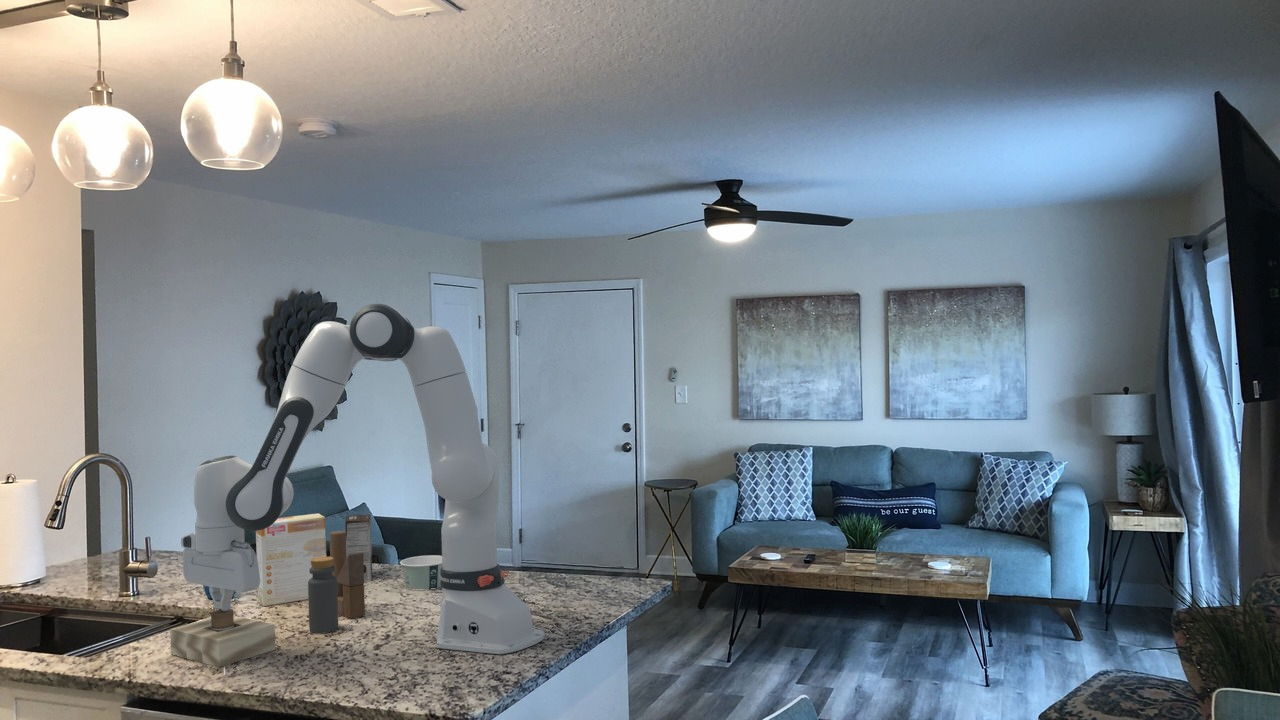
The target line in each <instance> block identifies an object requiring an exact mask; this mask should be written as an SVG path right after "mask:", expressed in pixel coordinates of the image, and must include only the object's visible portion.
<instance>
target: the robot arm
mask: <svg viewBox="0 0 1280 720" xmlns="http://www.w3.org/2000/svg"><path fill="white" fill-rule="evenodd" d="M305 338H306V339H305V340H304V342H303V343H302V345H301V347H300V349H299V350H298V352H297V354H296V356H295V358H294V360H293V361H292V362H293V363H292V365H291V367H290V369H289V370H288V374H287V377H286V378H285V379H286V380H285V382H284V386H283V389H282V392H281V397H280V400H279V403H278V406H277V410H276V413H275V416H274V419H273V423H272V425H271V427H270V429H269V432H268V433H267V435H266V437H265V440H264V441H263V444H262V446H261V448H260V450H259V452H258V453H257V457H256V458H255V461H254V462H253V464H250V463H249V462H246V461H244V460H243V459H241V458H240V457H239V456H238V455H227V456H226V455H225V456H220V457H216V458H212V459H208V460H205V461H203V462H201V464H200V465H199V466H197V468H196V470H195V471H196V472H195V477H194V489H193V491H194V493H193V499H194V500H193V502H194V503H193V504H194V507H195V511H196V519H195V522H194V523H195V524H194V531H192V532H191V533H188V534H186V535H184V536H182V537H180V544H181V547H182V548H183V551H182V572H183V577H184V579H185V581H186V583H189V584H195V585H200V586H205V587H209V588H208V589H209V591H208V592H209V594H210V596H211V599H212V600H213V609H215V610H222V611H226V610H229V609H232V607H231V606H232V605H231V601H232V598H233V595H234V594H235V592H238V593H239V592H240V593H247V592H251V591H255V590H258V587H259V584H260V575H259V566H258V560H257V553H256V552H255V550H254V549H253V548H252V546H251V543H248V542H245V539H246V538H245V531H251V532H256V531H258V530H263V529H265V528H267V527H269V526H271V525H272V524H273V523H274V522H275V521H276V520H277V519H278V518H280V517H281V516H282V515H283V513H285V512H286V511H287V510H288V509H289V508H290V507H291V505H292V503H293V501H294V499H295V498H294V497H295V490H294V489H295V488H294V485H293V483H292V481H291V479H290V478H289V477H288V476H287V475H288V474H289V471H290V468H291V466H292V464H293V463H294V461H295V459H296V458H295V457H296V456H297V454H298V453H299V452H298V451H299V449H300V448H301V445H302V443H303V441H304V440H305V439H306V438H307V436H308V435H309V434H310V432H311V431H312V430H313V429H314V428H315V427H317V425H318V424H320V423H321V422H323V420H324V419H326V417H328V416H329V414H330V413H331V412H332V410H333V409H334V408H335V407H336V405H337V403H338V401H340V398H341V396H342V395H343V392H344V391H345V387H346V385H347V383H348V381H349V378H350V376H351V374H352V373H353V370H354V369H355V367H356V366H357V364H358V363H359V362H361V361H362V360H368V361H378V362H393V361H398V360H399V361H400V362H402V363H403V364H404V366H405V367H406V370H407V371H408V373H409V376H410V377H409V378H410V380H411V381H410V382H411V384H412V387H413V391H414V394H415V398H416V401H417V405H418V407H419V412H420V415H421V418H422V421H423V426H424V430H425V437H426V445H427V453H428V458H429V464H430V469H431V483H432V484H431V485H432V486H433V489H434V491H435V492H436V494H438V496H440V497H441V498H442V499H444V500H445V502H444V510H443V511H444V513H443V520H442V525H441V529H440V530H441V533H440V534H441V536H440V537H441V556H442V568H441V569H440V584H441V587H440V588H442V592H441V593H442V595H441V602H440V613H439V614H440V615H439V622H438V628H437V632H436V636H435V640H436V644H435V645H436V648H437V649H444V650H454V651H464V652H473V653H481V654H482V653H484V654H495V655H504V654H510V653H515V652H518V651H521V650H525V649H527V648H529V647H532V646H534V645H536V644H539V643H540V642H541V641H543V640H544V639H545V637H546V633H545V630H541V629H537V628H535V627H534V623H533V617H532V616H533V615H532V612H531V609H530V607H529V605H527V604H526V603H525V602H524V601H523V600H522V599H521V598H520V597H518V596H517V595H516V593H514V592H513V591H512V590H511V589H510V588H509V587H508V585H506V584H505V582H506V580H505V578H506V577H508V576H509V574H507V573H509V570H503V571H502V568H501V567H500V564H499V563H498V541H497V539H498V538H497V524H498V521H497V520H498V509H499V508H498V507H499V493H500V491H499V489H500V460H499V458H498V455H497V454H496V452H495V451H494V449H493V448H492V447H490V446H489V445H487V444H485V443H483V440H482V434H481V429H480V422H479V415H478V414H479V413H478V411H479V410H478V407H477V403H476V399H475V397H474V393H473V390H472V386H471V382H470V380H469V377H468V373H467V371H466V366H465V364H464V360H463V358H462V355H461V354H460V352H459V349H458V347H457V344H456V342H455V341H454V339H453V336H452V335H451V333H450V332H449V331H448V330H447V329H446V328H444V327H442V326H441V327H440V326H436V325H435V326H433V325H432V326H430V325H429V326H424V327H418V328H417V327H414V326H413V325H412V323H411V322H410V321H409V319H408V318H407V317H406V316H405V315H404V314H403V313H402V311H399V310H398V309H396V308H394V307H392V306H389V305H387V304H384V303H383V304H382V303H371V304H368V305H365V306H363V307H361V308H360V309H359V310H358V311H357V312H355V314H354V315H353V317H352V318H351V321H350V322H349V324H344V323H341V322H337V321H330V320H329V321H322V322H319V323H317V324H316V325H314V327H313V328H312V330H311V331H310V333H309V334H308V335H307V337H305Z"/></svg>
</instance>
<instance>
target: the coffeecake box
mask: <svg viewBox="0 0 1280 720" xmlns="http://www.w3.org/2000/svg"><path fill="white" fill-rule="evenodd" d="M326 537H327V535H326V516H324V515H322V514H320V513H310V514H302V515H301V514H300V515H294V516H293V515H292V516H286V517H278V519H277V520H276V521H275V522H274V523H273V524H272V525H271V526H269V527H267V528H265V529H263V530H258V531H255V544H256V547H255V549H256V552H255V553H256V556H257V560H258V566H259V575H260V584H259V587H258V588H257V600H258V602H259V601H260V602H259V603H260V604H261V605H262V606H263V607H266V606H267V607H268V606H273V605H274V606H275V605H280V604H286V603H291V602H292V603H293V602H300V601H304V600H308V581H309V580H310V579H311V578H312V576H313V575H312V574H311V573H310V571H309V569H310V568H311V567H312V566H311V562H310V560H311V559H313V558H317V557H327V543H326V542H327V540H326V539H327V538H326Z"/></svg>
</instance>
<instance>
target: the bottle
mask: <svg viewBox="0 0 1280 720" xmlns="http://www.w3.org/2000/svg"><path fill="white" fill-rule="evenodd" d="M333 559H334V558H333V557H330V556H326V557H317V558H313V559H311V560H310V562H311V566H312V567H311V568H310V569H309V571H310V573H311V574H312V575H313V576H312V578H311V579H310V580H309V581H308V599H307V600H308V626H309V627H308V629H309V632H310V633H312V634H325V633H324V632H326V633H330V631H331V632H334V631H336V630H338V629H339V614H338V595H337V578H336V577H335V576H333V575H332V572H334V571H335V566H334V565H332V564H333ZM337 628H338V629H337ZM333 630H334V631H333Z"/></svg>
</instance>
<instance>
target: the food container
mask: <svg viewBox="0 0 1280 720" xmlns="http://www.w3.org/2000/svg"><path fill="white" fill-rule="evenodd" d="M399 564H400V565H401V567H402V571H403V572H402V573H403V577H404V581H405V583H404V584H405V586H406V589H407V588H410V589H431V588H437V587H440V588H442V587H441V584H440V569H441V568H442V555H437V554H436V555H418V556H412V557H411V556H410V557H407V558H405V559H402V560H400V562H399ZM437 589H438V588H437Z"/></svg>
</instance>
